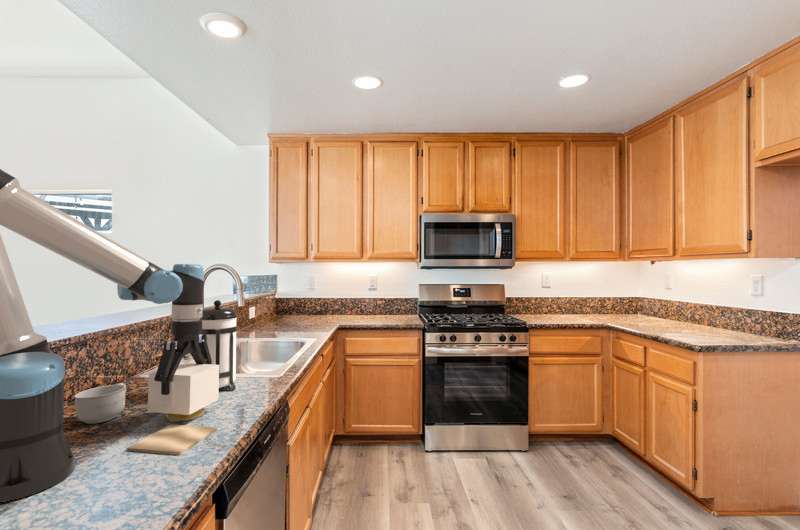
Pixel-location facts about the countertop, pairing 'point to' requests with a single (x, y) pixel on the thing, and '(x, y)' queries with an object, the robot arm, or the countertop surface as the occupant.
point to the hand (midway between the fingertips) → (184, 398)
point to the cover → (186, 389)
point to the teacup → (100, 403)
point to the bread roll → (185, 416)
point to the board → (172, 439)
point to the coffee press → (221, 341)
